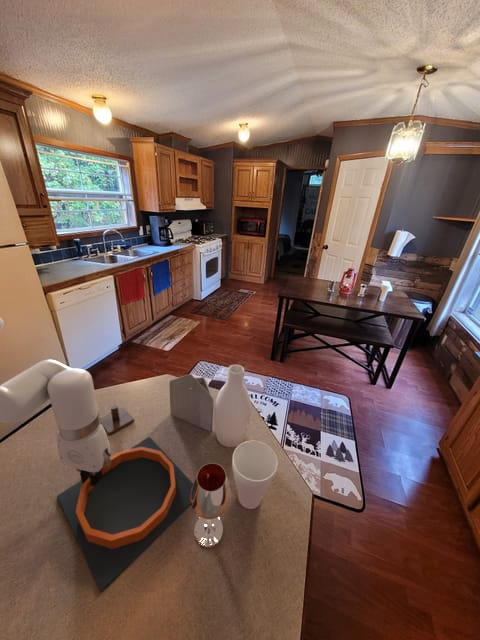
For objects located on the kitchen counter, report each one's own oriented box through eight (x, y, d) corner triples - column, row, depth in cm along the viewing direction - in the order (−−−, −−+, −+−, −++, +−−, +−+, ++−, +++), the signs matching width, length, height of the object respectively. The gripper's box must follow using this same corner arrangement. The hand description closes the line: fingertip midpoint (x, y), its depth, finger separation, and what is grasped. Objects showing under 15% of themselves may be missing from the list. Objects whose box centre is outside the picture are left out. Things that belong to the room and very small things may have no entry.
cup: (253, 530, 57) (259, 492, 51) (220, 497, 63) (222, 459, 57) (278, 495, 64) (286, 458, 59) (246, 468, 70) (251, 432, 65)
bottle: (229, 417, 87) (234, 353, 77) (255, 435, 81) (264, 369, 70) (205, 436, 79) (207, 368, 69) (231, 458, 73) (238, 387, 62)
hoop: (65, 495, 60) (63, 486, 59) (146, 442, 75) (146, 434, 74) (104, 575, 48) (102, 566, 47) (192, 492, 63) (192, 484, 61)
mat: (57, 497, 60) (56, 495, 60) (149, 437, 77) (149, 436, 77) (101, 592, 46) (100, 591, 46) (201, 494, 63) (201, 493, 63)
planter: (223, 416, 87) (226, 369, 79) (211, 432, 80) (213, 383, 73) (184, 400, 93) (183, 355, 85) (170, 414, 86) (168, 366, 78)
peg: (98, 421, 81) (95, 406, 79) (122, 408, 87) (120, 394, 84) (109, 435, 76) (106, 420, 74) (134, 421, 82) (132, 407, 80)
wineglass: (231, 516, 59) (237, 463, 52) (220, 559, 52) (225, 504, 44) (198, 505, 60) (199, 453, 53) (183, 545, 53) (182, 490, 46)
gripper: (32, 428, 52) (51, 486, 60) (100, 445, 50) (111, 503, 57) (62, 404, 59) (76, 458, 66) (123, 418, 57) (131, 472, 64)
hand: (92, 478), depth 62 cm, fingers closed
